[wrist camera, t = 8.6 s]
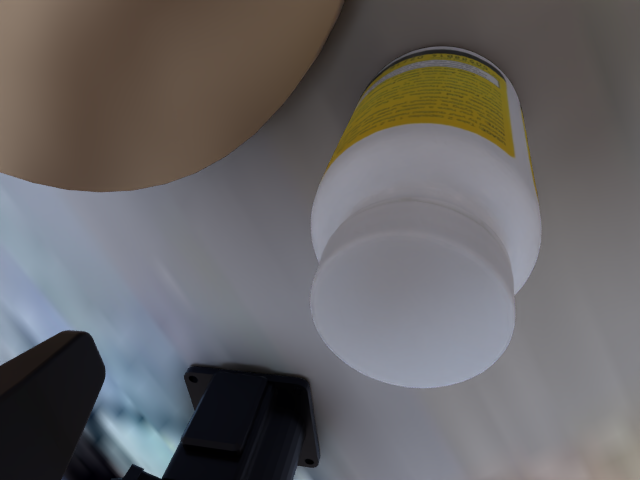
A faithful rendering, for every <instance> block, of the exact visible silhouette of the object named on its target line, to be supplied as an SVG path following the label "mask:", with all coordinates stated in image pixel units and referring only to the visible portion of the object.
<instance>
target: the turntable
mask: <svg viewBox="0 0 640 480" xmlns="http://www.w3.org/2000/svg"><path fill="white" fill-rule="evenodd" d="M344 1H345V0H0V172H1V173H4V174H7V175H10V176H14V177H17V178H20V179H23V180H26V181H29V182H32V183H37V184H42V185H47V186H52V187H57V188H62V189H66V190H78V191H91V192H113V191H131V190H138V189H143V188H148V187H153V186H158V185H163V184H166V183H169V182H172V181H175V180H177V179H180V178H183V177H186V176H188V175H191V174H194V173H197V172H198V171H200V170H202V169H204V168H206V167H207V166H209V165H211V164H213V163H215V162H217V161H218V160H220V159H222V158H224V157H226V156H227V155H228V154H230V153H231V152H232V151H234V150H235V149H236V148H237V147H239V146H240V145H241V144H243V143H244V142H245V141H246V140H248V139H249V138H250V137H252V136H253V135H254V134H255V133H256V132H257V131H258V130H259V129H260V128H261V127H262V126H263V125H264V124H265V123H266V122H267V121H268V120H269V119H270V117H271V116H272V115H273V114H274V113H275V112H276V111H277V110H278V109H279V108H280V107H281V106H282V105H283V103H284V102H285V101H286V100H287V98H288V97H289V96H290V95H291V93H292V92H293V91H294V90H295V88H296V87H297V85H298V84H299V83H300V81H301V80H302V78H303V77H304V75H305V74H306V73H307V71H308V70H309V68H310V67H311V65H312V64H313V63H314V61H315V60H316V58H317V57H318V55H319V54H320V52H321V50H322V48H323V46H324V44H325V42H326V40H327V38H328V36H329V34H330V32H331V30H332V28H333V26H334V24H335V23H336V21H337V19H338V17H339V15H340V12H341V9H342V7H343V4H344Z"/></svg>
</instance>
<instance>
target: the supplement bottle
mask: <svg viewBox="0 0 640 480" xmlns="http://www.w3.org/2000/svg"><path fill="white" fill-rule="evenodd" d="M541 236H542V224H541V215H540V207H539V201H538V195H537V189H536V184H535V179H534V174H533V169H532V163H531V157H530V151H529V146H528V140H527V135H526V129H525V123H524V117H523V113H522V108H521V105H520V102H519V99H518V96H517V94H516V91H515V89H514V87H513V86H512V84H511V82H510V81H509V79H508V78H507V77H506V76H505V74H504V73H503V72H502V71H501V70H500V69H499V68H498V67H497V66H496V65H494V64H493V63H492V62H490V61H489V60H487V59H486V58H484V57H482V56H480V55H478V54H476V53H474V52H471V51H468V50H465V49H461V48H456V47H446V46H437V47H428V48H423V49H419V50H415V51H412V52H409V53H407V54H404V55H403V56H401V57H399V58H397V59H395V60H394V61H392V62H391V63H389V64H388V65H387V66H386V67H384V68H383V69H382V70H381V71H380V72H379V73H378V74H377V75H376V76H375V77H374V78H373V80H372V81H371V82H370V84H369V85H368V86H367V88H366V89H365V91H364V92H363V94H362V96H361V97H360V100H359V102H358V104H357V106H356V108H355V110H354V112H353V115H352V117H351V119H350V121H349V123H348V125H347V127H346V129H345V131H344V133H343V135H342V137H341V139H340V141H339V144H338V146H337V148H336V150H335V152H334V154H333V156H332V158H331V160H330V162H329V164H328V166H327V168H326V171H325V173H324V175H323V177H322V179H321V181H320V184H319V187H318V190H317V193H316V196H315V199H314V203H313V206H312V213H311V238H312V243H313V248H314V251H315V254H316V257H317V260H318V262H319V266H318V269H317V271H316V274H315V277H314V279H313V283H312V286H311V292H310V308H311V314H312V318H313V321H314V324H315V327H316V329H317V331H318V333H319V335H320V337H321V338H322V340H323V341H324V343H325V344H326V345H327V346H328V347H329V349H330V350H331V351H332V352H333V353H334V354H335V355H336V356H337V357H338V358H339V359H341V360H342V361H343V362H344V363H346V364H347V365H349V366H350V367H352V368H353V369H355V370H356V371H358V372H360V373H362V374H364V375H366V376H368V377H370V378H373V379H376V380H379V381H381V382H384V383H388V384H392V385H397V386H401V387H410V388H436V387H443V386H449V385H453V384H457V383H460V382H463V381H465V380H468V379H471V378H473V377H475V376H477V375H479V374H480V373H482V372H484V371H485V370H486V369H488V368H489V367H490V366H492V365H493V364H494V363H495V362H496V361H497V360H498V359H499V357H500V356H501V355H502V354H503V352H504V351H505V350H506V348H507V347H508V344H509V342H510V340H511V338H512V334H513V331H514V327H515V321H516V307H515V294H516V293H517V292H518V291H519V290H520V289H521V288H522V286H523V285H524V284H525V282H526V281H527V279H528V277H529V276H530V274H531V272H532V270H533V269H534V266H535V263H536V261H537V258H538V254H539V250H540V245H541Z"/></svg>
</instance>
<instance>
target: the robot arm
mask: <svg viewBox="0 0 640 480" xmlns="http://www.w3.org/2000/svg"><path fill="white" fill-rule="evenodd" d="M105 372H106V371H105V366H104V363H103V361H102V358H101V356H100V354H99V351H98V349H97V347H96V344H95V342H94V340H93V338H92V336H91V335H90V334H89V333H87V332H84V331H71V330H68V331H62V332H60V333H58V334H56V335H55V336H53V337H51V338H49V339H47V340H46V341H44V342H42V343H40V344H38V345H37V346H35V347H33V348H31V349H29V350H28V351H26V352H24V353H22V354H20V355H19V356H17V357H15V358H13V359H11V360H10V361H8V362H6V363H4V364H2V365H1V366H0V480H61V479H62V477H63V475H64V473H65V471H66V469H67V467H68V465H69V463H70V460H71V458H72V456H73V454H74V452H75V449H76V447H77V444H78V442H79V440H80V437H81V435H82V433H83V430H84V428H85V425H86V423H87V421H88V418H89V416H90V414H91V411H92V409H93V407H94V404H95V402H96V399H97V397H98V395H99V392H100V390H101V388H102V385H103V383H104V379H105ZM184 379H185V382H186V385H187V388H188V391H189V394H190V398H191V401H192V404H193V407H194V410H195V412H194V414H193V416H192V418H191V419H190V421H189V423H188V425H187V427H186V429H185V431H184V433H183V435H182V437H181V441H180V443H179V445H178V447H177V449H176V451H175V453H174V455H173V457H172V459H171V461H170V463H169V465H168V467H167V469H166V471H165V473H164V475H163V477H162V479H160V478H158V477H156V476H153V475H151V474H149V473H146V472H144V471H143V470H144V469H143V468H141V467H138V466H136V465H134V464H132V465H131V467H130V469H129V470H128V472H127V473H126V475H125V476H124V477H123V478H112V479H111V480H293V478H294V475H295V471H296V468H297V466H304V467H313V468H314V467H317V466H318V463H319V459H320V453H319V446H318V440H317V433H316V426H315V419H314V412H313V406H312V399H311V392H310V386H309V383H308V382H307V381H306V380H304V379H302V378H296V377H287V376H278V375H268V374H259V373H250V372H241V371H232V370H222V369H213V368H204V367H195V366H194V367H189V368H188V370H187V372H186V373H185V375H184Z"/></svg>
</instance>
